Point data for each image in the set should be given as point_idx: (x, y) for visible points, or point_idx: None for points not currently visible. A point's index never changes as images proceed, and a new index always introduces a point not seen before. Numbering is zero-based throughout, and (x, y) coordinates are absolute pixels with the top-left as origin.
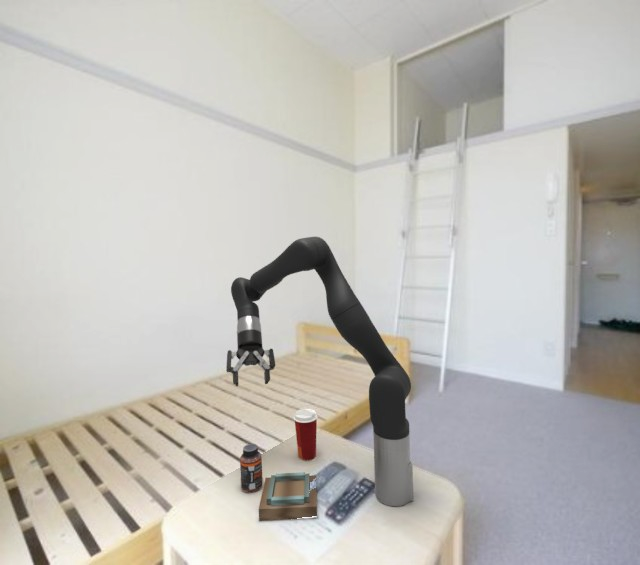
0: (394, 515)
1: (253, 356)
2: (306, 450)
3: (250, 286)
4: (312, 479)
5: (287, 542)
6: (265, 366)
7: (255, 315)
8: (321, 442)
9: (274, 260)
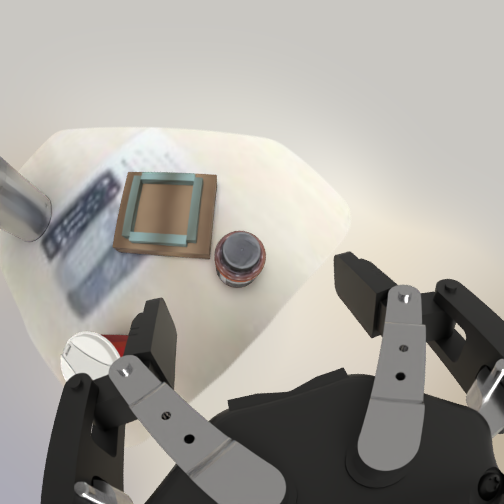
0: (49, 181)
1: (276, 458)
2: (122, 335)
3: None
4: (120, 236)
5: (178, 148)
6: (140, 373)
7: None
8: None
9: None
